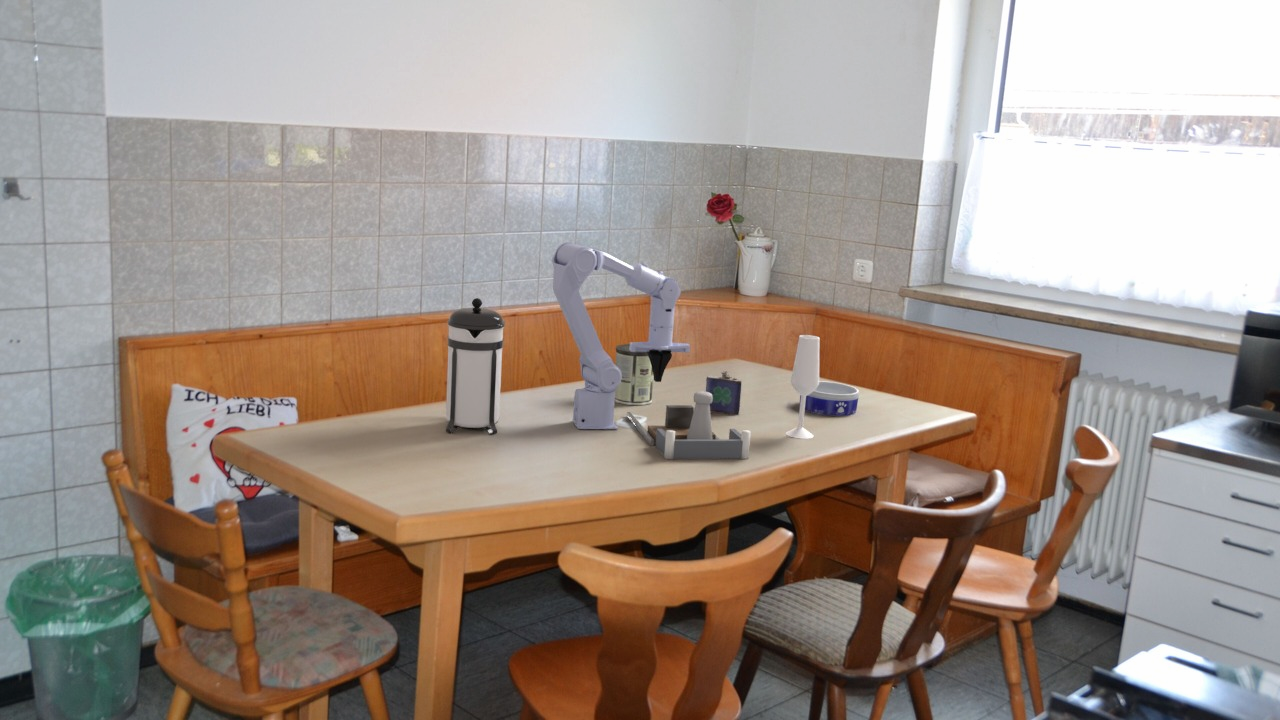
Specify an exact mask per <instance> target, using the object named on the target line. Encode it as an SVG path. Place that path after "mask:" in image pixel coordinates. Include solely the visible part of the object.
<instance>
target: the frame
mask: <svg viewBox="0 0 1280 720" xmlns="http://www.w3.org/2000/svg"><path fill="white" fill-rule="evenodd" d="M750 442H751V430H747V429H743V430H741V432H739V431H738V430H737V429H736V428H729V432H728V438H727V439H725V438H724V439H720V438H719V439H675V431H673V430H667V431H666V432H665V431H664V430H663V429H657V433H656V443H655V448H657V449H658V450H659V452H660V453H661V454H662V455H663V458H664V459H665V460H677V459H678V460H680V459H682V460H683V459H684V460H691V459H692V460H695V459H700V460H701V459H705V460H706V459H707V460H708V459H709V460H711V459H713V458H714V459H720V458H722V459H724V458H726V459H728V458H729V459H743V460H747V459H749V457H750V446H751V443H750ZM724 460H725V459H724Z"/></svg>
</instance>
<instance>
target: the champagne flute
mask: <svg viewBox="0 0 1280 720" xmlns="http://www.w3.org/2000/svg"><path fill="white" fill-rule="evenodd" d="M820 340H821V339H820V337H819V336H817V335H809V334H800V335H799V336H798V342H797V347H796V352H795V358H794V362H793V363H794V364H793V368H792V373H791V376H790V383H791V386H792V387H793V389H794V390H795V391H796V392H797V393H798V394H799V396H800V395H801V402H800V401H799V412H798V423H797V427H794V428H793V429H790V430H788V431H786V432H785V434H786V435H787V436H788V437H791V438H795V439H804V440H806V439H807V440H808V439H813V438H814V434H813V433H811V432H810V431H808V430H807V429H806V428H804V419H805V411H806V410H805V401H806V396H807V395H809V394H810V393H812V392H813V391H814V390H815V389H816V388H817V387H818V385H819V381H820V348H821V347H820Z"/></svg>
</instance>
